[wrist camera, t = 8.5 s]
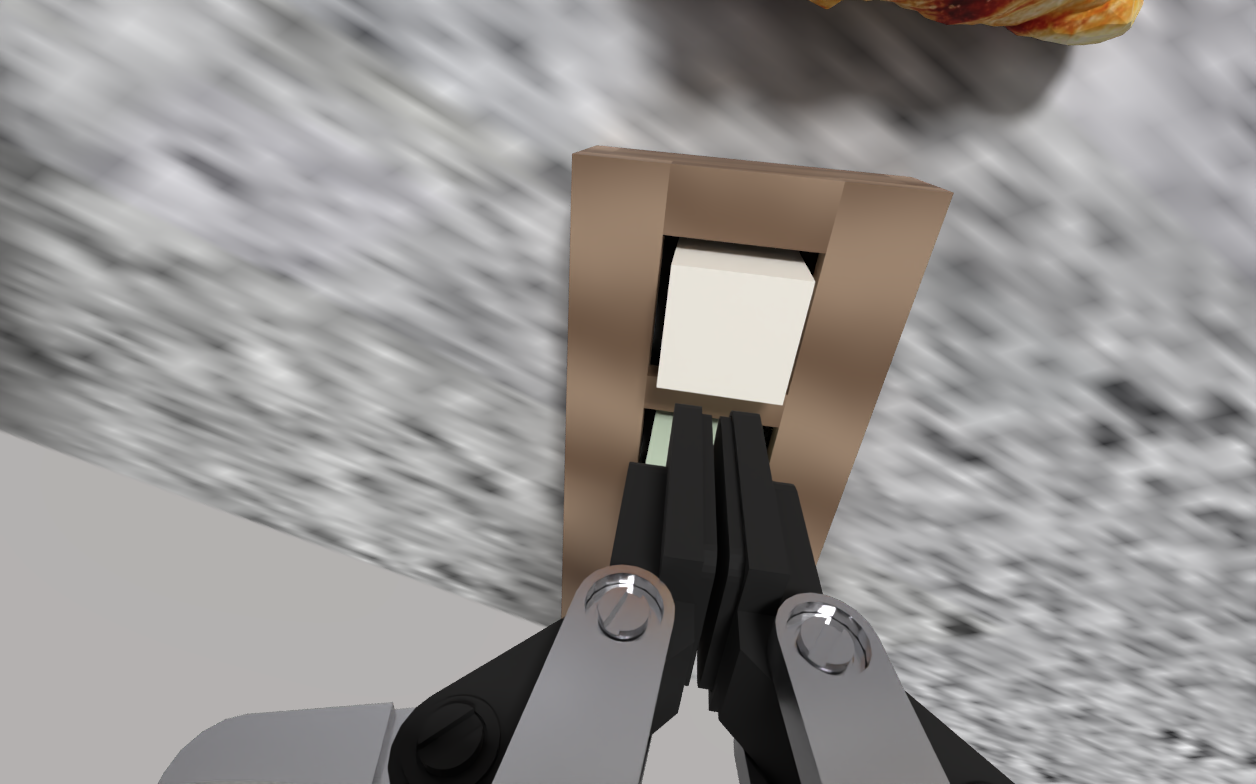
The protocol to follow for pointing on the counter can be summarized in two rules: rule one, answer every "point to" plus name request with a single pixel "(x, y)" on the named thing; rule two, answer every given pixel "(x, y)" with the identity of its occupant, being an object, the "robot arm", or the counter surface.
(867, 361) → the wooden compartment tray
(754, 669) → the robot arm
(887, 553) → the counter surface
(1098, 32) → the croissant
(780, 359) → the cream cube
